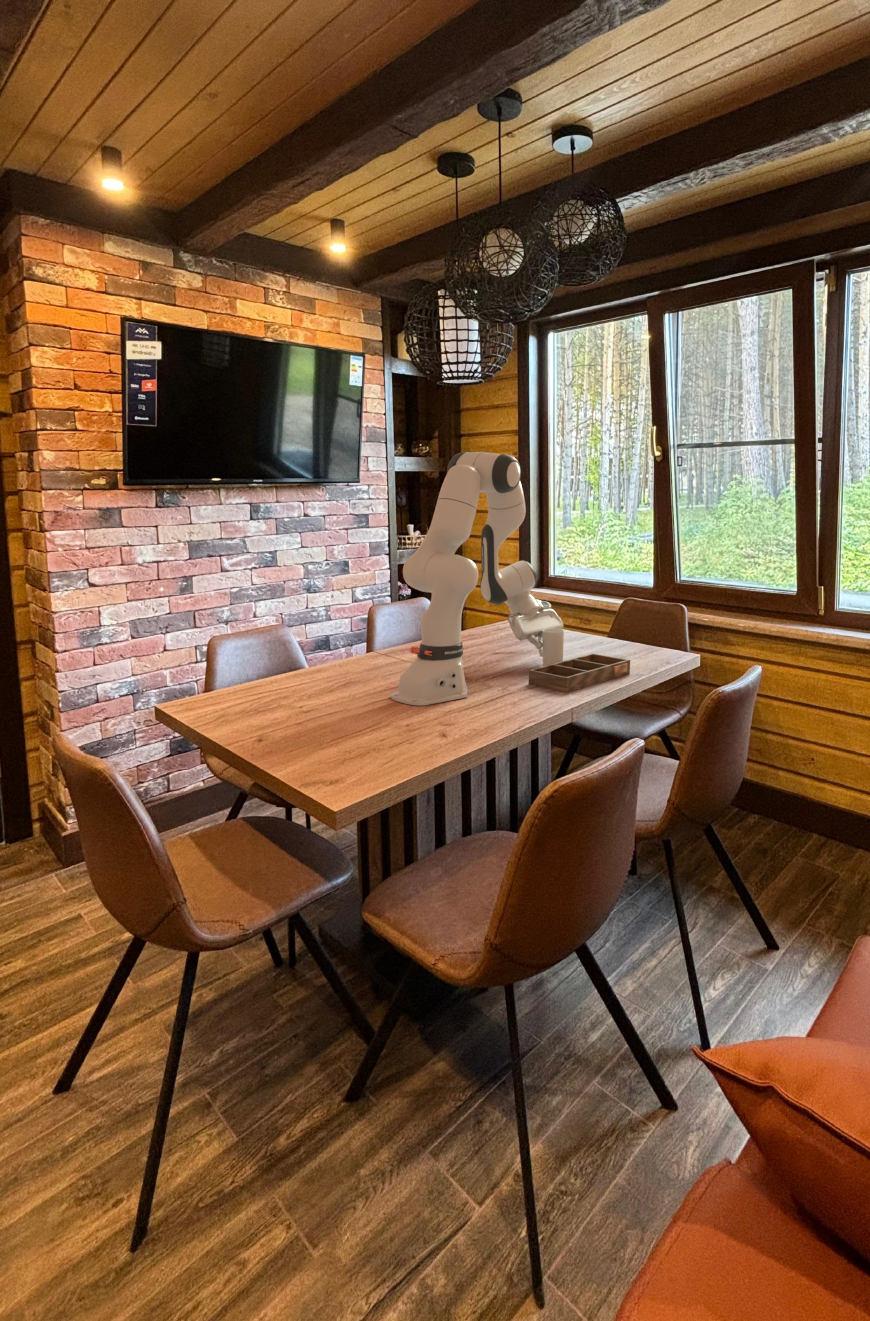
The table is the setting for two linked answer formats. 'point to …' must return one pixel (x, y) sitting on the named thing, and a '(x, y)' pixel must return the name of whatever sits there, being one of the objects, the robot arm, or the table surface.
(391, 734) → the table surface
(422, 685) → the robot arm
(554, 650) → the mug
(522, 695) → the table surface
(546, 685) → the tray
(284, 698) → the table surface
